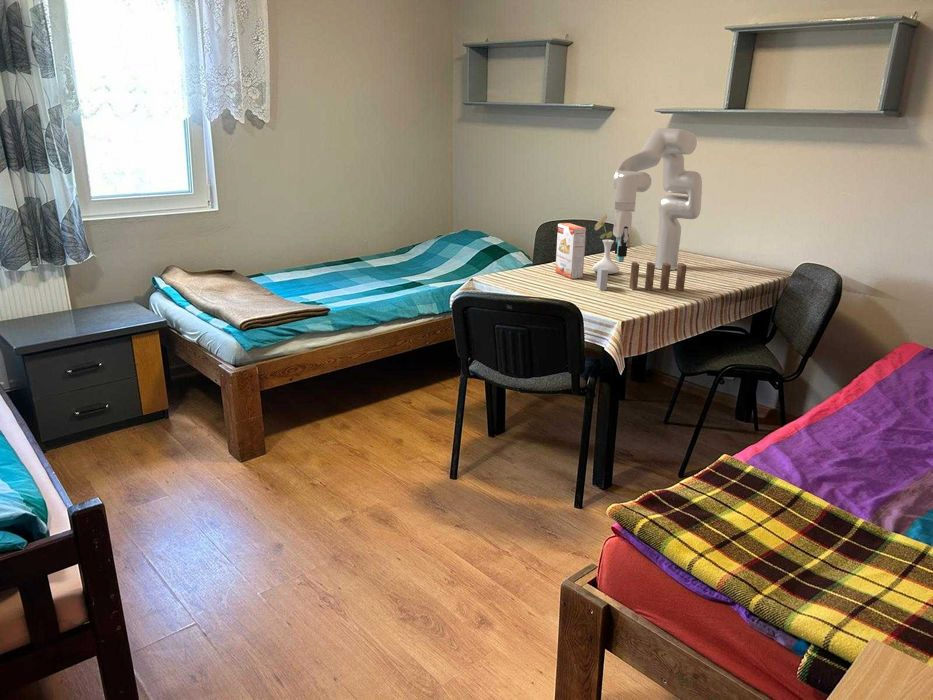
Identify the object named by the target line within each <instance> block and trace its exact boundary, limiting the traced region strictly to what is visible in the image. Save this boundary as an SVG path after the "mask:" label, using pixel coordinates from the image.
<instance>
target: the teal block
mask: <svg viewBox="0 0 933 700" xmlns="http://www.w3.org/2000/svg"><path fill="white" fill-rule="evenodd" d="M621 238H624V236H621ZM619 246H620V237H619V238H618V245H617V254H616V257H615V260H616V261H617V262H618V263H624V262H625V257H618V247H619Z"/></svg>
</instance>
